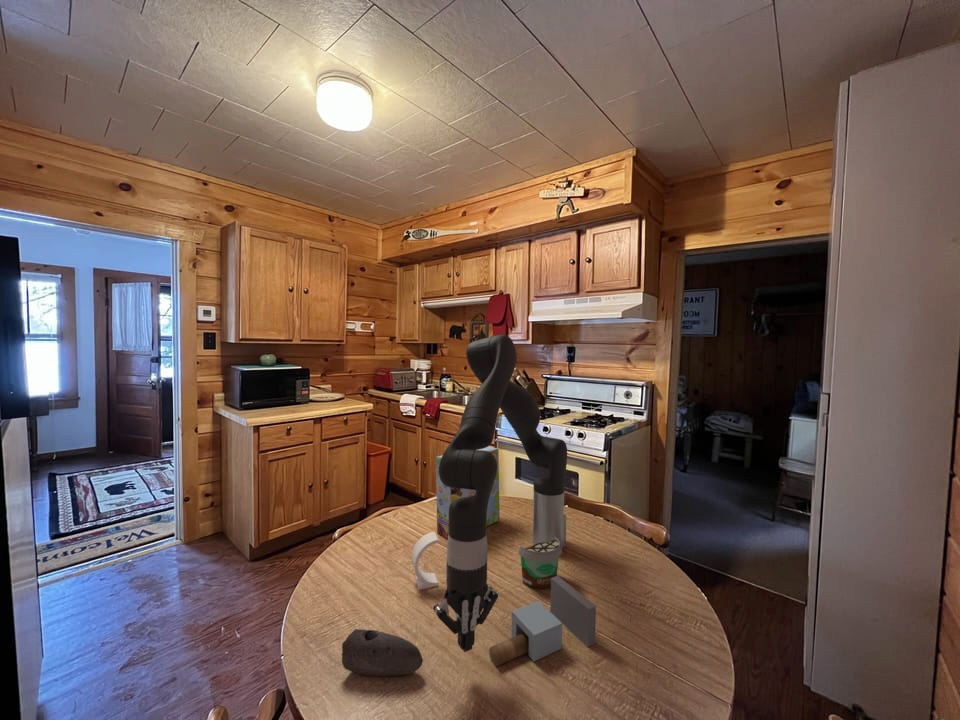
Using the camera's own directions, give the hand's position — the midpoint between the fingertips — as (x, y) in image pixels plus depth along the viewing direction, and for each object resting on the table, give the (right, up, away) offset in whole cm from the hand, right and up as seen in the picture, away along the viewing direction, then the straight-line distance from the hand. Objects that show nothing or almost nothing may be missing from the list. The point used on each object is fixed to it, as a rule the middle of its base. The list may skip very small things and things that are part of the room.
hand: (465, 647), depth 74 cm
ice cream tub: (+19, -4, +28) cm, 34 cm away
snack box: (-1, -3, +59) cm, 59 cm away
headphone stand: (-12, -4, +28) cm, 31 cm away
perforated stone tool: (-15, -5, +1) cm, 16 cm away
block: (+14, -5, +8) cm, 17 cm away
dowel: (+9, -5, +5) cm, 11 cm away
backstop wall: (+23, -5, +13) cm, 26 cm away
